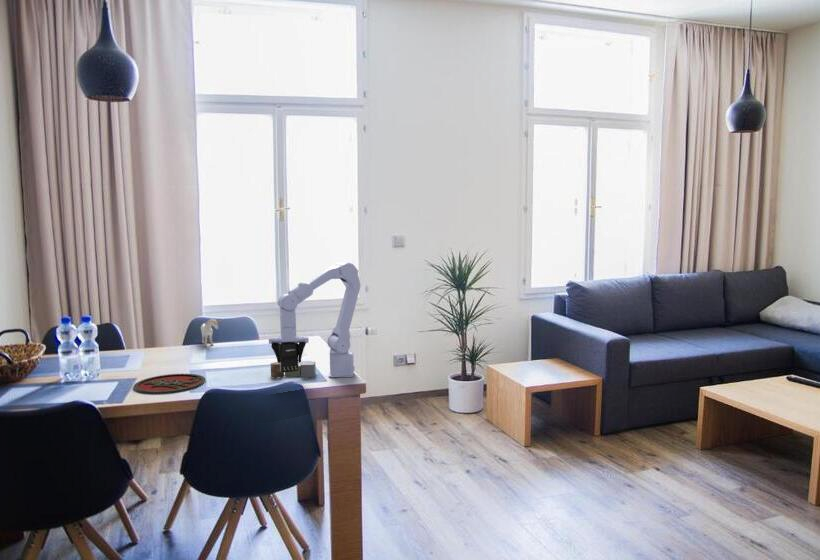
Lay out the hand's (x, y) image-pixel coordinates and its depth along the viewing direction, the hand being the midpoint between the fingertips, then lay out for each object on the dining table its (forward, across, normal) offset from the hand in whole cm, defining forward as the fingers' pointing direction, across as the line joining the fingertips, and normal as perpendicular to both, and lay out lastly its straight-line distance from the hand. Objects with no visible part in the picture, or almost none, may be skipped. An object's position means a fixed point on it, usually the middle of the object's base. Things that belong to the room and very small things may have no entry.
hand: (289, 362), depth 232 cm
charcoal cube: (+8, -6, -8) cm, 12 cm away
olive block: (+8, 0, -10) cm, 13 cm away
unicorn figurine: (+8, +47, -70) cm, 85 cm away
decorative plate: (+8, +44, +1) cm, 45 cm away
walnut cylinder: (+7, +6, -8) cm, 12 cm away
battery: (+4, 0, 0) cm, 4 cm away
